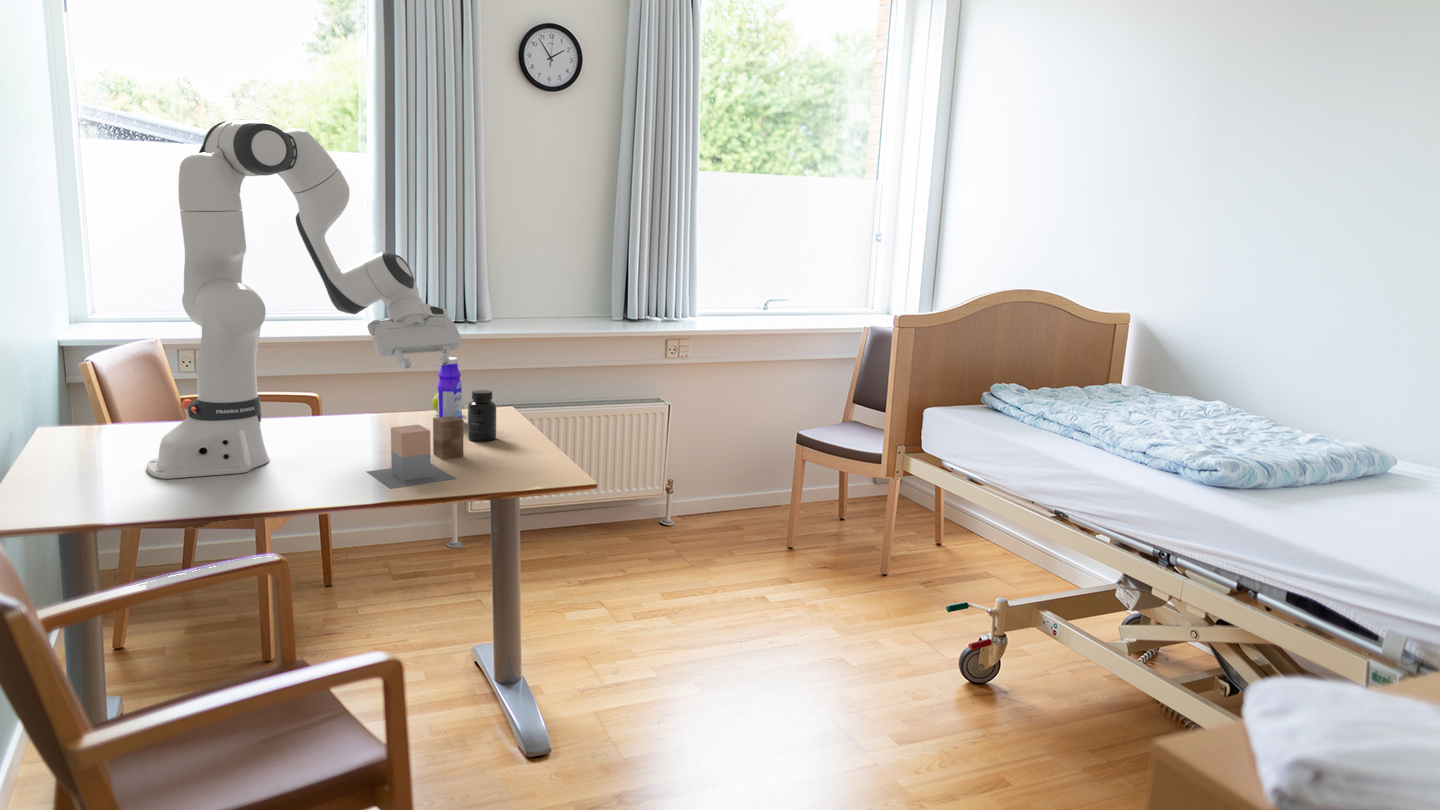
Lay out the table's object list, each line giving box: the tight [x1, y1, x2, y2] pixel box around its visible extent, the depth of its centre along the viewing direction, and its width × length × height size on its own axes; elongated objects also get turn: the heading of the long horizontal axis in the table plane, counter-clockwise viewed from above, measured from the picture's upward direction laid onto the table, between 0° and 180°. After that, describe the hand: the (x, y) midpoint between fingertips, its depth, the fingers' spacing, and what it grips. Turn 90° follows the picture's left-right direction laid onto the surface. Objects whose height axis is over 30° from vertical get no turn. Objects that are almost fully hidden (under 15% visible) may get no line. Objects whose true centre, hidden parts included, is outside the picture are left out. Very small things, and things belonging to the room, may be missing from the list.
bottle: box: [437, 356, 463, 420], centre depth 239 cm, size 7×6×17 cm
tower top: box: [390, 424, 431, 457], centre depth 191 cm, size 6×6×5 cm
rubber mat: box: [366, 463, 457, 490], centre depth 192 cm, size 14×14×1 cm
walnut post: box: [432, 416, 464, 460], centre depth 208 cm, size 5×5×9 cm
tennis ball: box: [432, 392, 438, 414], centre depth 250 cm, size 7×7×7 cm
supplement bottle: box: [467, 389, 497, 443], centre depth 225 cm, size 7×7×12 cm
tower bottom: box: [390, 450, 432, 481], centre depth 192 cm, size 6×6×5 cm
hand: (426, 365), depth 214 cm, fingers open, 8 cm apart
